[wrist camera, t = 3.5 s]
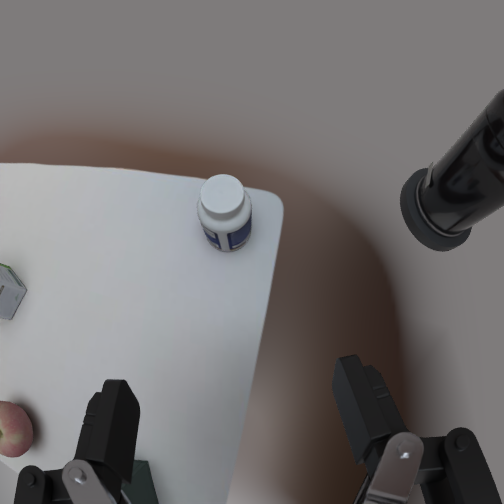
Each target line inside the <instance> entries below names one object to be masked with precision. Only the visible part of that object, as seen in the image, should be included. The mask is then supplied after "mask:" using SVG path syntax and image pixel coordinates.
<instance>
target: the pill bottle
mask: <svg viewBox="0 0 504 504" xmlns="http://www.w3.org/2000/svg"><path fill="white" fill-rule="evenodd" d="M197 213H198V217H199V220H200V222H201V225H202V227H203V230H204V232H205V235H206V237H207V239H208V241H209V242H210V244H211V245H212V246H213V247H215V248H216V249H218V250H221V251H235V250H238V249H240V248H241V247H243V246H244V245H245V244H246V243H247V241H248V239H249V237H250V234H251V215H252V205H251V200H250V197H249V195H248V193H247V192H246V191H245V190H244V188H243V186H242V184H241V183H240V181H239V180H238V179H236V178H235V177H233V176H230V175H226V174H221V175H216V176H213V177H211V178H210V179H208V180H207V181H206V182H205V183H204V184H203V186H202V188H201V191H200V197H199V200H198V204H197Z"/></svg>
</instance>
